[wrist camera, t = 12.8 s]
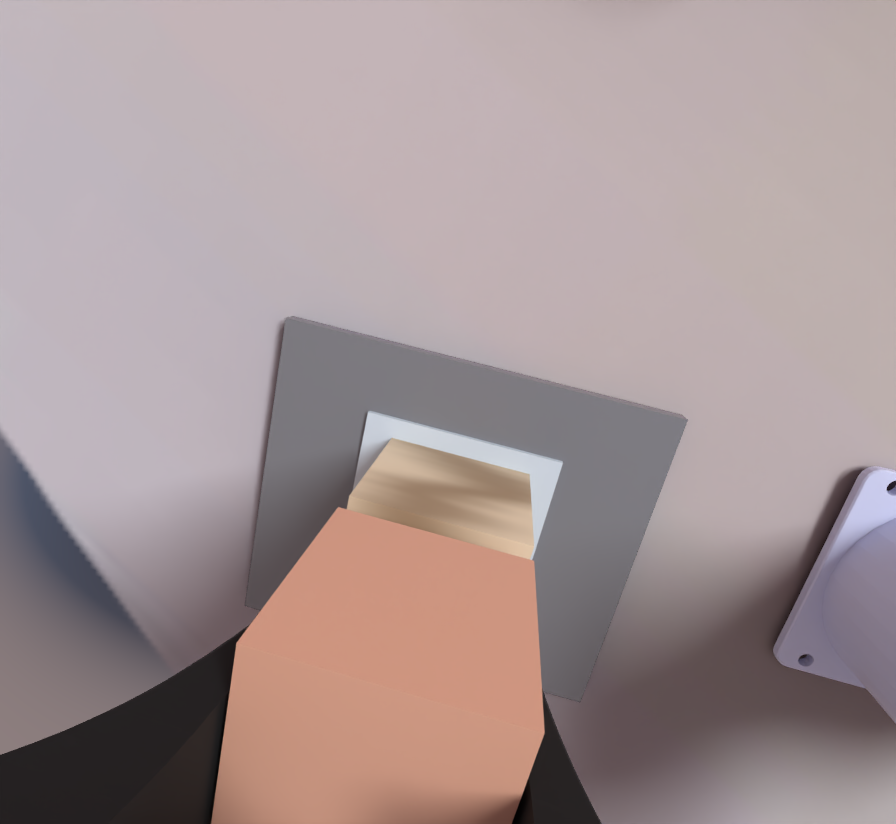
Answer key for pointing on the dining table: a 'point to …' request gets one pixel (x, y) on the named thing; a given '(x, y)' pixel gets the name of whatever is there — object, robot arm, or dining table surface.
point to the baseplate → (476, 437)
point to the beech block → (448, 497)
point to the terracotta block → (385, 685)
